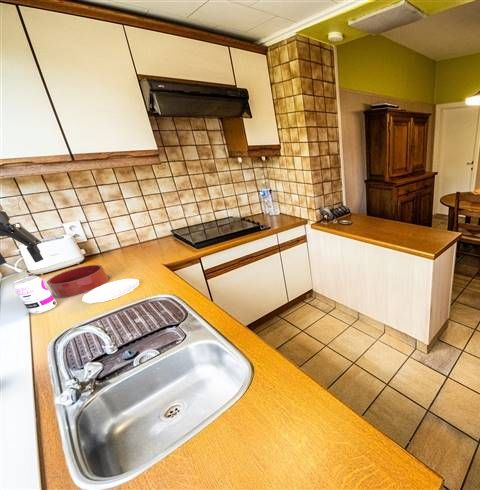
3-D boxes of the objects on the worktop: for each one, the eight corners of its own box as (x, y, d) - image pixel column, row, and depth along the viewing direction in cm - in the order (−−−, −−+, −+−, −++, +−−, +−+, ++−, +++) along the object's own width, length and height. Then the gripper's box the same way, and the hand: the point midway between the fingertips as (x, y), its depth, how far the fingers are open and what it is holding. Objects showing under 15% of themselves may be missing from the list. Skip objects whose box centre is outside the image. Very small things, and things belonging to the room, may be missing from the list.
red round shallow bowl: (42, 299, 126) (34, 286, 123) (77, 278, 144) (71, 267, 141) (87, 294, 128) (80, 282, 125) (117, 274, 146) (111, 263, 143)
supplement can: (56, 301, 124) (39, 273, 118) (58, 307, 119) (40, 278, 113) (30, 309, 118) (10, 281, 112) (30, 316, 114) (10, 287, 107)
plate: (149, 279, 139) (148, 276, 139) (122, 302, 120) (120, 299, 120) (105, 284, 137) (104, 281, 136) (70, 308, 118) (68, 305, 117)
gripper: (35, 207, 105) (62, 255, 114) (-37, 212, 103) (-4, 261, 111) (15, 213, 98) (45, 263, 107) (-63, 218, 96) (-25, 269, 104)
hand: (21, 262), depth 109 cm, fingers open, 13 cm apart
